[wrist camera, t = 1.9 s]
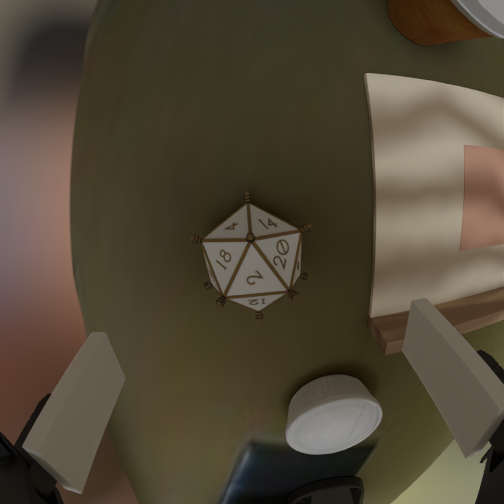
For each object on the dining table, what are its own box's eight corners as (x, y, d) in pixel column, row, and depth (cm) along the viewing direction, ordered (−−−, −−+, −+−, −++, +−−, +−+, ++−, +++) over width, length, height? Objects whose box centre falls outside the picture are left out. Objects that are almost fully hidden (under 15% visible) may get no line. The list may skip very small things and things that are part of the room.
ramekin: (377, 403, 34) (389, 431, 29) (301, 434, 35) (306, 464, 30) (357, 351, 30) (373, 382, 25) (266, 389, 32) (269, 424, 27)
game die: (241, 212, 29) (229, 150, 19) (320, 255, 27) (348, 208, 18) (189, 292, 27) (149, 263, 17) (271, 342, 25) (275, 341, 15)
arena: (518, 288, 29) (540, 303, 24) (367, 326, 29) (384, 355, 25) (531, 108, 21) (558, 110, 16) (363, 74, 21) (388, 61, 16)
